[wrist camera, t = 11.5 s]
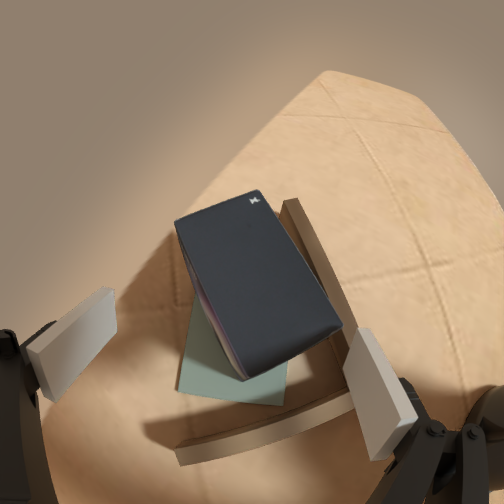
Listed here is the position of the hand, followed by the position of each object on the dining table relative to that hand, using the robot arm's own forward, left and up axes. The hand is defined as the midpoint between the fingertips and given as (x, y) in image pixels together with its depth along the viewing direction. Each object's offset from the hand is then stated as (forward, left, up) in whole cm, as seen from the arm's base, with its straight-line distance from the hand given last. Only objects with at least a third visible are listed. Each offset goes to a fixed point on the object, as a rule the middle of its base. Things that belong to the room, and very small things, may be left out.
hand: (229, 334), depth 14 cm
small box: (-2, -3, -11) cm, 11 cm away
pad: (-2, -2, -11) cm, 11 cm away
